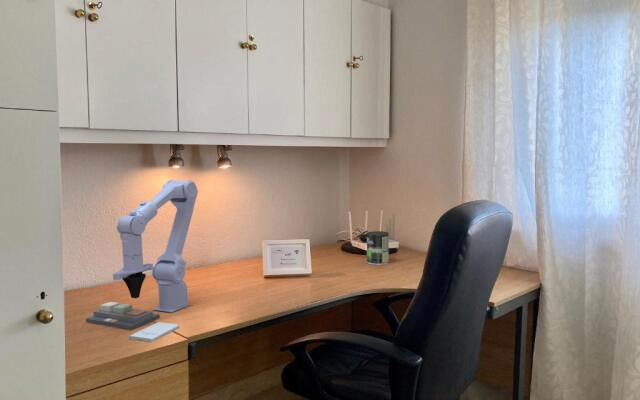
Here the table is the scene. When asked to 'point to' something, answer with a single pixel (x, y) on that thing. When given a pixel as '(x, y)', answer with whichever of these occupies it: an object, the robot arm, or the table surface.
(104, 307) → the key
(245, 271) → the table surface
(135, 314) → the key
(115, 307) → the key
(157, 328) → the external hard drive
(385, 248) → the coffee can
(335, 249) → the table surface
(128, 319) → the grey compartment tray
